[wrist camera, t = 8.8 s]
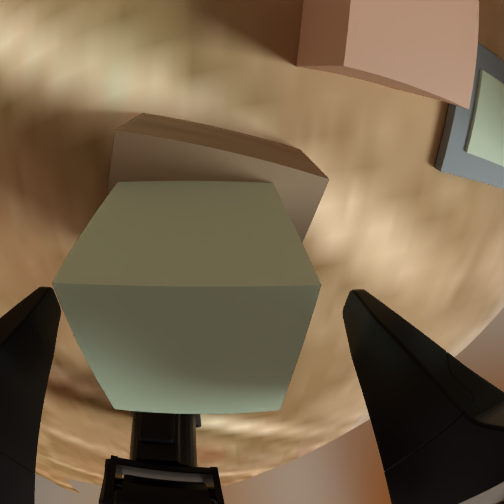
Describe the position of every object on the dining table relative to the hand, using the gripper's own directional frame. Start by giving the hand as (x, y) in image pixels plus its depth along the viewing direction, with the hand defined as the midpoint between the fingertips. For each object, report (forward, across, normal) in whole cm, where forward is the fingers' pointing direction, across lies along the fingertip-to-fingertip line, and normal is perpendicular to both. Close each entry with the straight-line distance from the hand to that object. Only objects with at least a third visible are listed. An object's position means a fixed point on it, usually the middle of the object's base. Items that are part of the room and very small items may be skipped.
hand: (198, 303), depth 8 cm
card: (+6, -16, -7) cm, 19 cm away
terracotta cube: (+7, -6, -9) cm, 13 cm away
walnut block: (+7, 0, 0) cm, 7 cm away
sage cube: (+3, 0, 0) cm, 3 cm away
